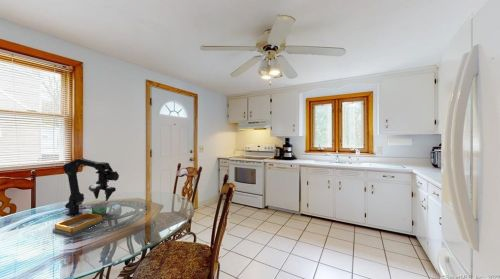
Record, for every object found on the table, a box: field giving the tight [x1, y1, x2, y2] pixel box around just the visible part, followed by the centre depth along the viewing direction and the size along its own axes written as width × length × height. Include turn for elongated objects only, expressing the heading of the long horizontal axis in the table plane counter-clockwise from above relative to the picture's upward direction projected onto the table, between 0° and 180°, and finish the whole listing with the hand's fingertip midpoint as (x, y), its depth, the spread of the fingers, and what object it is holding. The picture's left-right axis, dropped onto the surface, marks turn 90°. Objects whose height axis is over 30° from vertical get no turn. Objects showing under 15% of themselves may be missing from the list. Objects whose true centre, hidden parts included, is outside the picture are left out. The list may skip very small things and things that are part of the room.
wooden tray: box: [52, 212, 105, 238], centre depth 133 cm, size 16×21×5 cm
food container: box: [90, 199, 109, 217], centre depth 151 cm, size 12×6×10 cm, turn 168°
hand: (101, 199), depth 150 cm, fingers open, 9 cm apart
